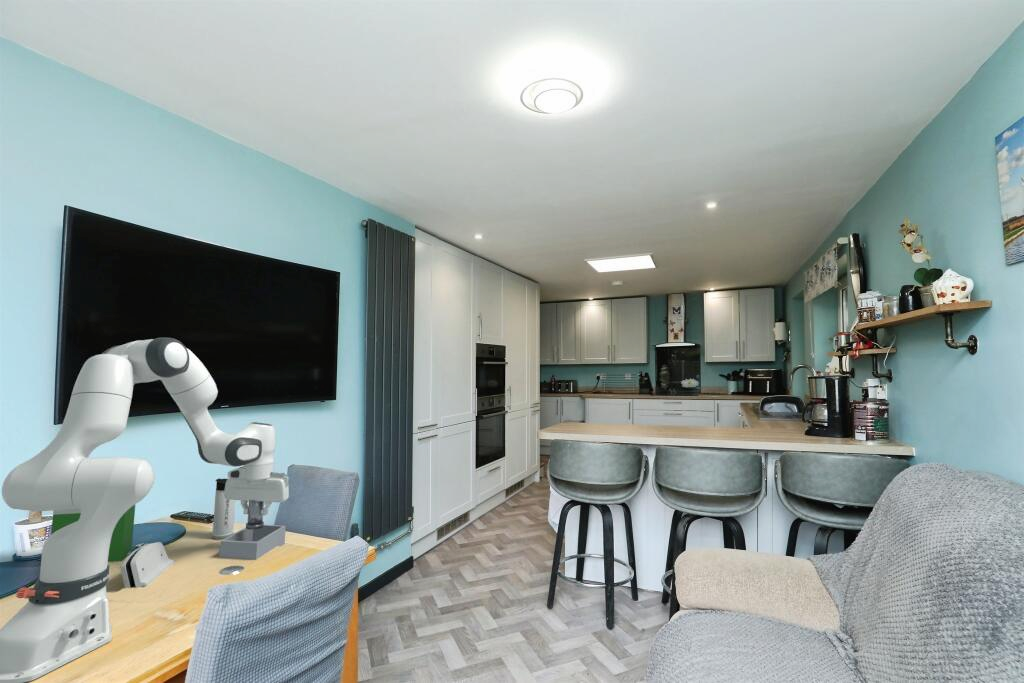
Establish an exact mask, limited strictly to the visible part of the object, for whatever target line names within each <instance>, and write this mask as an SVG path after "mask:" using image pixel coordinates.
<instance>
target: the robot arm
mask: <svg viewBox="0 0 1024 683" xmlns="http://www.w3.org/2000/svg"><path fill="white" fill-rule="evenodd" d="M75 380H76V381H75V383H74V384H73V389H72V390H71V391H72V392H71V396H70V400H69V403H68V407H67V409H66V412H65V413H66V414H65V416H64V419H63V422H62V424H61V427H60V429H59V431H58V432H57V434H56V435H55V437H54V438H53V439H52V440H51V442H50V443H48V445H46V447H45V448H44V449H42V451H40V452H39V453H37V454H36V455H34V456H33V457H31V458H29V459H27V460H25V461H24V462H22V463H20V464H18V465H17V466H15V467H14V468H13V469H12V470H11V471H10V472H8V474H7V476H6V477H5V478H4V480H3V481H2V486H1V496H2V499H3V501H4V503H5V504H6V505H7V506H8V507H9V508H11V509H13V510H21V511H30V512H31V511H32V512H51V511H52V512H53V510H69V509H80V510H81V515H80V518H79V520H78V521H77V522H74V523H72V524H70V525H67V526H65V527H63V528H61V529H59V530H58V531H56V532H54V533H53V534H52V535H51V534H50V535H49V536H48V537H47V539H46V540H45V541H44V542H43V545H42V548H41V549H42V550H41V560H40V570H39V577H38V578H36V581H35V583H34V585H33V587H26V586H23V587H20V588H19V589H18V590H17V592H16V593H15V597H16V598H17V599H28V601H27V602H26V604H25V605H23V606H22V607H21V608H20V610H18V612H16V614H14V615H13V617H11V618H10V619H9V621H7V623H6V624H5V625H3V626H2V627H1V628H0V683H27V682H33V681H34V680H37V679H38V678H40V677H43V676H45V675H47V674H49V673H50V672H53V671H54V670H56V669H58V668H59V667H62V666H64V665H67V664H69V663H70V662H72V661H73V660H74V661H75V660H76V659H78V658H80V657H82V656H84V655H86V654H89V653H90V652H92V651H94V650H97V648H99V647H101V646H104V645H106V644H107V643H110V642H111V641H112V639H113V634H112V632H111V631H112V625H111V621H110V616H109V615H110V614H109V613H110V611H109V599H108V593H107V585H109V584H108V583H109V580H110V576H111V575H110V574H111V573H110V565H109V562H108V555H109V548H110V542H111V537H112V533H113V530H114V528H115V526H116V524H117V522H118V521H119V519H120V518H121V517H122V516H123V514H124V513H125V512H126V511H127V510H128V509H130V508H131V507H132V506H133V505H135V506H136V504H138V503H140V502H141V501H143V500H144V498H146V496H148V494H149V493H150V492H151V490H152V488H153V485H154V482H155V471H154V469H153V467H152V465H151V464H150V463H149V462H148V460H146V459H141V458H136V457H128V456H127V457H126V456H110V457H109V456H107V457H89V456H90V455H91V453H92V452H93V451H94V450H95V449H96V448H99V447H100V446H102V445H104V444H106V443H108V442H111V441H113V440H115V439H117V438H118V437H120V436H121V435H123V433H124V432H125V430H126V428H127V423H128V418H129V413H130V407H131V403H132V398H133V391H134V386H135V385H136V384H141V383H150V382H155V381H159V380H160V381H161V382H162V384H163V385H164V387H165V389H166V390H167V392H168V393H169V395H170V397H171V398H172V399H173V401H174V402H175V403H176V405H177V406H178V408H179V411H180V413H181V415H182V416H183V418H184V420H185V422H186V424H187V425H188V427H189V429H190V430H191V432H192V434H193V436H194V437H195V440H196V444H197V449H198V451H197V452H198V455H199V457H200V459H201V460H203V461H204V463H205V462H206V463H207V464H216V465H222V466H228V467H235V468H234V469H232V470H229V471H228V472H227V479H228V480H227V481H226V485H225V491H224V497H225V498H226V499H227V500H235V501H240V505H241V507H242V510H243V511H242V512H243V515H248V508H249V501H250V500H254V501H262V502H264V509H262V510H261V515H263V516H267V515H268V514H269V509H270V507H271V505H272V504H273V503H284V502H285V501H287V500H288V499H289V497H290V488H289V483H290V482H289V481H290V477H289V476H288V475H287V474H286V473H285V472H275V471H274V468H275V467H274V466H275V465H274V464H275V459H274V453H275V449H276V430H275V427H274V426H273V425H272V424H270V423H263V422H258V421H257V422H254V421H253V422H249V424H248V426H246V427H245V428H243V429H242V430H240V431H238V432H236V433H234V434H232V433H227V432H224V431H222V430H221V429H219V428H218V427H217V425H216V423H215V422H214V419H213V418H212V416H211V414H210V412H209V410H208V408H209V406H211V405H212V404H213V403H214V401H215V400H216V399H217V397H218V393H219V390H218V388H217V384H216V382H215V380H214V378H213V377H212V374H210V372H209V370H208V368H206V366H205V365H204V363H203V362H202V361H201V360H200V359H199V358H198V357H197V356H196V355H195V353H193V351H191V349H189V348H187V347H186V345H184V344H183V342H181V341H180V340H177V339H176V338H174V337H173V338H172V337H157V338H154V339H153V338H150V339H144V340H143V339H142V340H135V341H130V342H127V343H125V344H122V345H114V346H112V347H110V348H107V349H106V350H105V351H103V352H101V354H95V355H94V356H93V355H92V356H91V357H89V358H88V359H86V361H85V362H84V363H83V364H82V367H81V369H80V372H79V374H78V375H77V378H76V379H75ZM236 467H237V468H236Z"/></svg>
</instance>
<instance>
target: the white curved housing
mask: <svg viewBox="0 0 1024 683" xmlns="http://www.w3.org/2000/svg"><path fill="white" fill-rule="evenodd" d="M173 564H175V561H174V559H170V558H169V556H168V554H167V552H166V549H165V546H164V544H163V543H162V542H161V541H157V542H152V543H149V544H146V545H142V546H139V547H138V548H137V549H135V550H132V551H131V553H130V554H129V555H128V556H126V557H125V558H124V559H123V562H122V563H121V565H120V571H121V575H122V580H123V584H124V588H125V589H131V588H142V587H149V586H150V584H152V583H153V582H154V581H155V580H156V579H157V578H159V577H160V576H161V575H162V574H163V573H165V571H167V570H168V569H169V568H170V567H172V566H173Z"/></svg>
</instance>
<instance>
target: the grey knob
mask: <svg viewBox="0 0 1024 683" xmlns="http://www.w3.org/2000/svg"><path fill="white" fill-rule="evenodd" d="M264 503H265V502H262V501H254V500H250V501H248V507H249V508H248V514H247V522H246V523H245V528H246V529H250V530H253V529H259V528H262V527H263V526H264V525H265V522H264V515H261V510H262V509H264V508H265V505H264Z"/></svg>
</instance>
